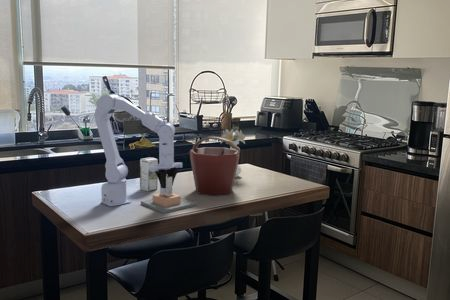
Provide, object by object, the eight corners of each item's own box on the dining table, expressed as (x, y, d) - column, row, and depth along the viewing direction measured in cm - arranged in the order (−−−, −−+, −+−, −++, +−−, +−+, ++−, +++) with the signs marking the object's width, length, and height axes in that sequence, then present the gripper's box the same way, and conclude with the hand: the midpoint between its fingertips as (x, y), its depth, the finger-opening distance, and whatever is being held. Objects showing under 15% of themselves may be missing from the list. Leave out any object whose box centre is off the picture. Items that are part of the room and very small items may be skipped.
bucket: (249, 193, 204) (251, 138, 200) (212, 201, 189) (213, 142, 185) (214, 182, 222) (215, 132, 218) (178, 189, 207) (178, 135, 203)
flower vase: (242, 172, 247) (243, 127, 243) (245, 180, 229) (247, 131, 225) (218, 172, 247) (219, 126, 243) (220, 179, 229) (221, 130, 225)
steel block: (166, 197, 179) (166, 177, 177) (160, 195, 181) (160, 176, 180) (172, 196, 181) (172, 176, 179) (166, 194, 183) (166, 175, 182)
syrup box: (149, 187, 210) (149, 156, 208) (158, 189, 207) (157, 158, 204) (139, 189, 206) (139, 158, 204) (148, 191, 202) (148, 160, 200)
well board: (164, 213, 171) (164, 202, 170) (140, 204, 182) (140, 194, 182) (196, 205, 182) (196, 195, 181) (172, 197, 193) (172, 188, 193)
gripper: (157, 157, 170) (157, 191, 172) (187, 153, 180) (187, 186, 182) (146, 154, 175) (147, 188, 178) (176, 150, 185) (176, 183, 187)
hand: (166, 187), depth 180 cm, fingers closed on steel block, 3 cm apart
